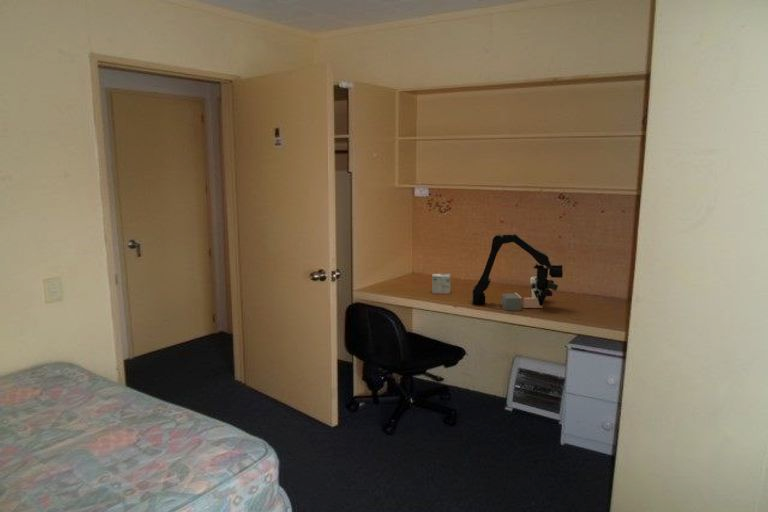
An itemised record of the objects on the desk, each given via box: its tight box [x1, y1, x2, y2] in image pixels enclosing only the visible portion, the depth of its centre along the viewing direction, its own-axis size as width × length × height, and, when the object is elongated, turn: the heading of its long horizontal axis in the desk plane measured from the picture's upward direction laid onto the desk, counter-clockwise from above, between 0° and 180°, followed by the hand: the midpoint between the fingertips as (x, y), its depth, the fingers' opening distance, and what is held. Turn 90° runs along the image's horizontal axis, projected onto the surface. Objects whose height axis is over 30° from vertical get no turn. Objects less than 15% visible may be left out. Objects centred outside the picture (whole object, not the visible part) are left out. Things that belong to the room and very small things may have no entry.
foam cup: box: [529, 276, 536, 298], centre depth 307 cm, size 10×9×13 cm
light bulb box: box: [431, 273, 451, 295], centre depth 326 cm, size 11×7×11 cm, turn 84°
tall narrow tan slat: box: [522, 297, 544, 309], centre depth 294 cm, size 10×2×5 cm, turn 92°
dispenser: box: [500, 292, 523, 312], centre depth 293 cm, size 8×10×7 cm
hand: (540, 305), depth 294 cm, fingers closed on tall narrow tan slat, 2 cm apart
